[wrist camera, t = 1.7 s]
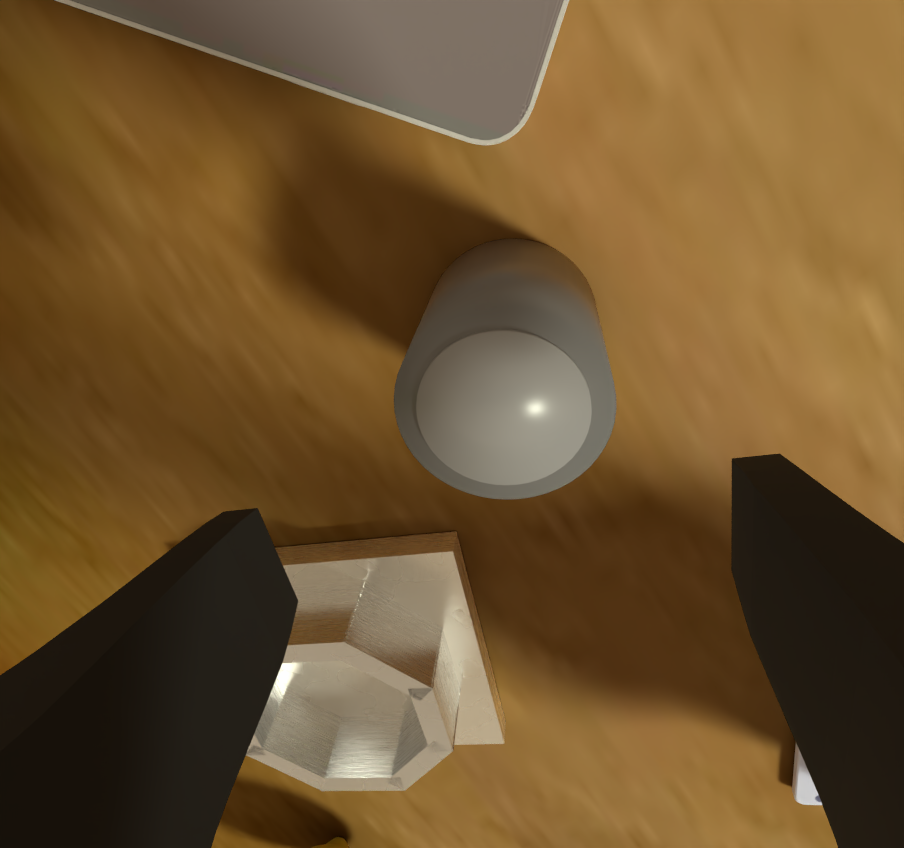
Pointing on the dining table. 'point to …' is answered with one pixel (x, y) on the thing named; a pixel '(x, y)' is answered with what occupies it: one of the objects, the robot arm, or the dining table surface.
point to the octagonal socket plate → (378, 665)
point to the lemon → (334, 844)
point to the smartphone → (377, 51)
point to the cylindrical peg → (507, 374)
